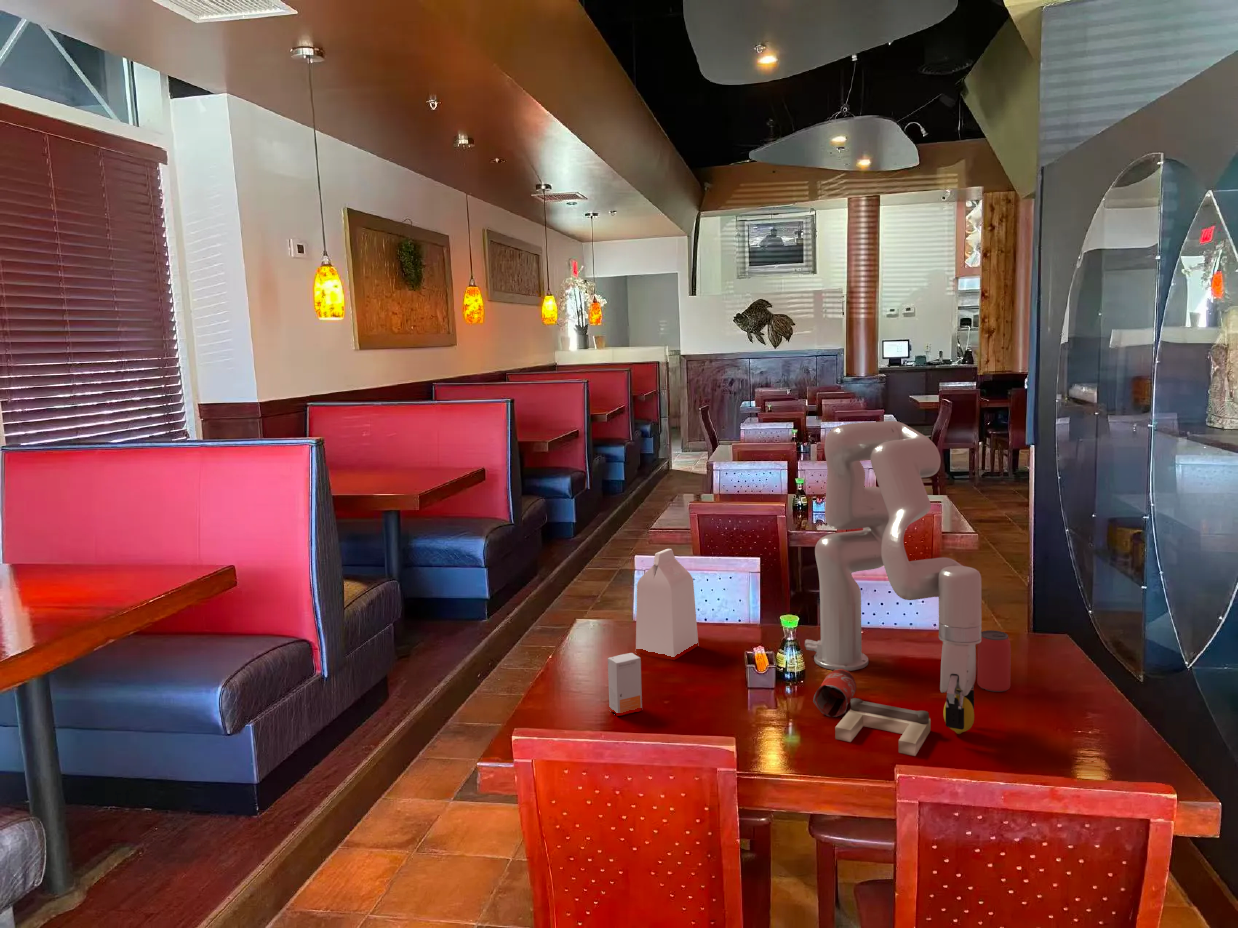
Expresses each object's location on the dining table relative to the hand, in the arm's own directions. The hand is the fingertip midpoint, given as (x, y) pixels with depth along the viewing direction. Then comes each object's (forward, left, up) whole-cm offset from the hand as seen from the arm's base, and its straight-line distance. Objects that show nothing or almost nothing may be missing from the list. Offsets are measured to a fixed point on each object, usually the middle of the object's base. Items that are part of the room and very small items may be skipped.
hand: (960, 718), depth 160 cm
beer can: (+2, +27, -4) cm, 28 cm away
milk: (-74, +16, -4) cm, 76 cm away
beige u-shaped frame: (-13, -7, -3) cm, 15 cm away
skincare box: (-63, -21, -4) cm, 67 cm away
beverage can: (-25, +2, -4) cm, 26 cm away
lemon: (0, 0, -4) cm, 4 cm away
